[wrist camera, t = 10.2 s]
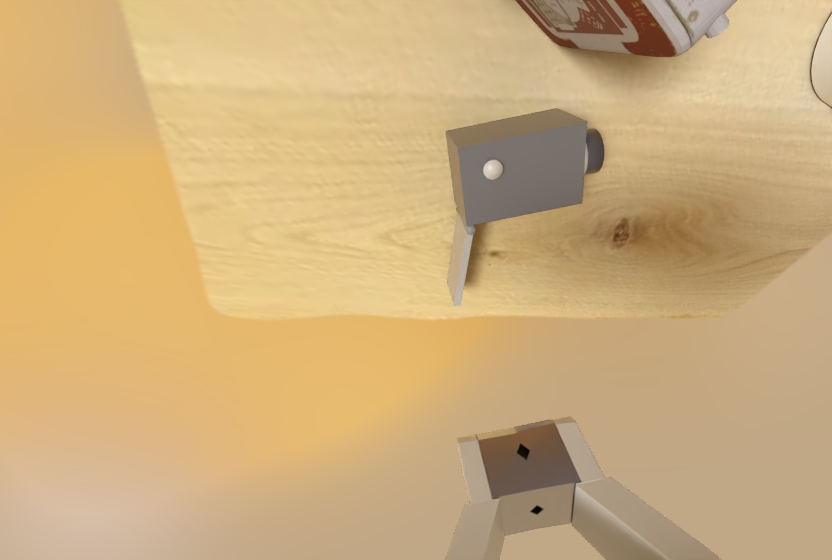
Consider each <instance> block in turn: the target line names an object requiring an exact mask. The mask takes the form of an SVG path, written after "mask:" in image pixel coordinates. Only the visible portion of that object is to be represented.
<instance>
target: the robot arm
mask: <svg viewBox="0 0 832 560" xmlns="http://www.w3.org/2000/svg"><path fill="white" fill-rule="evenodd" d="M811 75H812V83H813V87H814V90H815V92H816V94H817V95H818V96H819V98H820V99H821V100H822V101H824V102H825V103H827V104H828V105H830V106H831V107H832V14H831V16H830V18H829V19H828V21H827V23H826V25H825V27H824V29H823V31H822V33H821V35H820V37H819V40H818V43H817V45H816V48H815V52H814V56H813V61H812V70H811ZM457 444H458V449H459V455H460V459H461V464H462V470H463V475H464V480H465V485H466V490H467V495H468V500H469V504H465V505H464V506H463V509H462V512H461V515H460V518H459V521H458V524H457V526H456V529H455V532H454V535H453V538H452V541H451V544H450V547H449V550H448V552H447V555H446V558H445V560H500V555H501V551H502V546H503V542H504V536H506V535H510V534H515V533H519V532H524V531H528V530H533V529H537V528H544V527H550V526H557V525H563V524H569V523H572V526H573V527H574V528H575V529H576V530H577V531H578V532H579V533H580V534H581V535H582V536H583V537H584V538H585V539H586V540H587V541H588V542H589V543H590V544H591V545H592V546H593V547H594V548H595V549H596V550H597V551H598V552H599V553H600V554H601V555H602V556H603V557H604V558H605V559H606V560H721V559H720V558H719V556H718V555H716V554H715V553H714V552H712V551H711V550H710V549H708V548H707V547H706V546H704V545H703V544H702V543H700V542H699V541H697V540H696V539H695V538H693V537H692V536H690V535H689V534H688V533H686V532H685V531H684V530H683V529H681V528H680V527H679V526H677V525H676V524H674V523H673V522H672V521H670V520H669V519H667V518H666V517H665V516H664V515H662V514H661V513H659V512H658V511H657V510H656V509H654V508H653V507H652V506H650V505H649V504H647V503H646V502H645V501H643V500H642V499H641V498H639V497H638V496H637V495H635V494H634V493H633V492H631V491H630V490H629V489H627V488H625V487H624V486H623V485H622V484H620V483H619V482H618V481H616V480H615V479H614V478H612V477H606V478H605V476H604V474H603V473H602V471H601V469H600V467H599V465H598V463H597V461H596V460H595V457H594V455H593V454H592V452H591V450H590V448H589V446H588V444H587V442H586V440H585V438H584V436H583V434H582V433H581V431H580V429H579V427H578V425H577V423H576V421H575V420H574V419H573V418H572V417H571V416H567V417H562V418H557V419H552V420H545V421H540V422H536V423H531V424H527V425H522V426H517V427H513V428H509V429H503V430H498V431H493V432H488V433H482V434H477V435H476V434H475V435H470V436H465V437H460V438H457Z"/></svg>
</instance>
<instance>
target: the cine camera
mask: <svg viewBox="0 0 832 560" xmlns="http://www.w3.org/2000/svg"><path fill="white" fill-rule="evenodd" d="M516 1H517V2H518V3H519V4H520V5H521V7H522V8H523V9H524V10H525V11H526V12H527V13H528V14H529V16H530V17H531V18H532V19H533V20H534V21H535V22H536V23H537V24H538V26H539V27H540V28H541V29H542V30H543V31H544V32H545V33H546V34H547V35H548V36H549V37H550V38H551V39H552V40H553V41H554V42H555V43H557V44H559V45H561V46H565V47H570V48H578V49H588V50H597V51H607V52H616V53H625V54H635V55H644V56H653V57H675V56H678V55H681V54H682V53H684V52H686V51H687V50H688V49H689V48H690V47H692V46H693V45H695V43H696V42H697V41H698V40H699V39H700V38H701V37H702V36H703V35H704V34H705V35H706V36H707V38H712V37H715V36H717V35H719V34H720V33H721V32H723V31H724V30H725V29H726V28H727V27H728V25H729V20H728V18H727V17H726V15H725V14H724V13H725V12H726V11H727V10H728V9H729V8H730V7H731V6H732V5H733V4H734V3H735V2H736V1H737V0H516Z"/></svg>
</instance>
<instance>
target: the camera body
mask: <svg viewBox="0 0 832 560" xmlns="http://www.w3.org/2000/svg"><path fill="white" fill-rule="evenodd" d="M446 138H447V146H448V154H449V161H450V169H451V177H452V185H453V193H454V201H455V203H456V205H457V207H458V209H459V211H460V214H461V216H462V218H463V220H464V222H465V224H466V226H471V225H476V224H481V223H486V222H491V221H496V220H501V219H506V218H511V217H516V216H521V215H526V214H531V213H536V212H541V211H546V210H551V209H556V208H561V207H566V206H571V205H575V204H580V203H582V197H583V181H584V175H587V174H591V173H596V172H598V171H599V170H600V169H601V167H602V165H603V161H604V145H603V140H602V137H601V135H600V133H599V132H598V131H597V130H596V129H588V130H587V121H585V120H582V119H580V118H578V117H576V116H573V115H571V114H569V113H567V112H564V111H562V110H560V109H557V108H556V109H551V110H546V111H541V112H536V113H532V114H527V115H522V116H517V117H512V118H507V119H502V120H498V121H493V122H488V123H483V124H478V125H473V126H468V127H463V128H459V129H454V130H449V131H446Z"/></svg>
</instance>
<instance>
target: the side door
mask: <svg viewBox="0 0 832 560" xmlns="http://www.w3.org/2000/svg"><path fill="white" fill-rule="evenodd" d="M456 210H457V218H456V225H455V231H454V238H453V245H452V251H451V258H450V265H449V271H448V278H447V284H448V287H449V291H450V294H451V297H452V301H453V304H454V306H461V300H462V294H463V289H464V283H465V278H466V272H467V266H468V261H469V255H470V250H471V244H472V238H473V234H474V233H475V232H476V228H475V226H474V225H471V226H466V224H465V222H464V220H463V218H462V216H461V214H460V211H459V209H458V207H456Z"/></svg>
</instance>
